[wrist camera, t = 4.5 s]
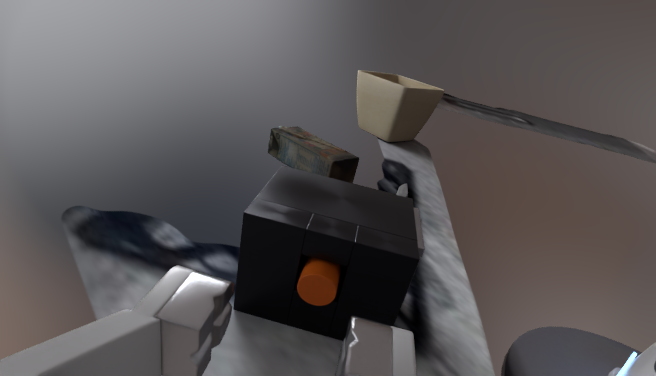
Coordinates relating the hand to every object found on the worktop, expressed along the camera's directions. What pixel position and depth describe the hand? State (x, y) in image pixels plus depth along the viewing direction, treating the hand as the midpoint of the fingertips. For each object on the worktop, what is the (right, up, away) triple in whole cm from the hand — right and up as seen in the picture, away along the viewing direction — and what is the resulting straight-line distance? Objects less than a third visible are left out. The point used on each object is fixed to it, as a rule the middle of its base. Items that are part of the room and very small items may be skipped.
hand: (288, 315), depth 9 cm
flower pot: (+19, +20, +99) cm, 103 cm away
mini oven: (0, -9, +32) cm, 33 cm away
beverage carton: (-3, +7, +63) cm, 64 cm away
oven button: (0, -7, +25) cm, 25 cm away
